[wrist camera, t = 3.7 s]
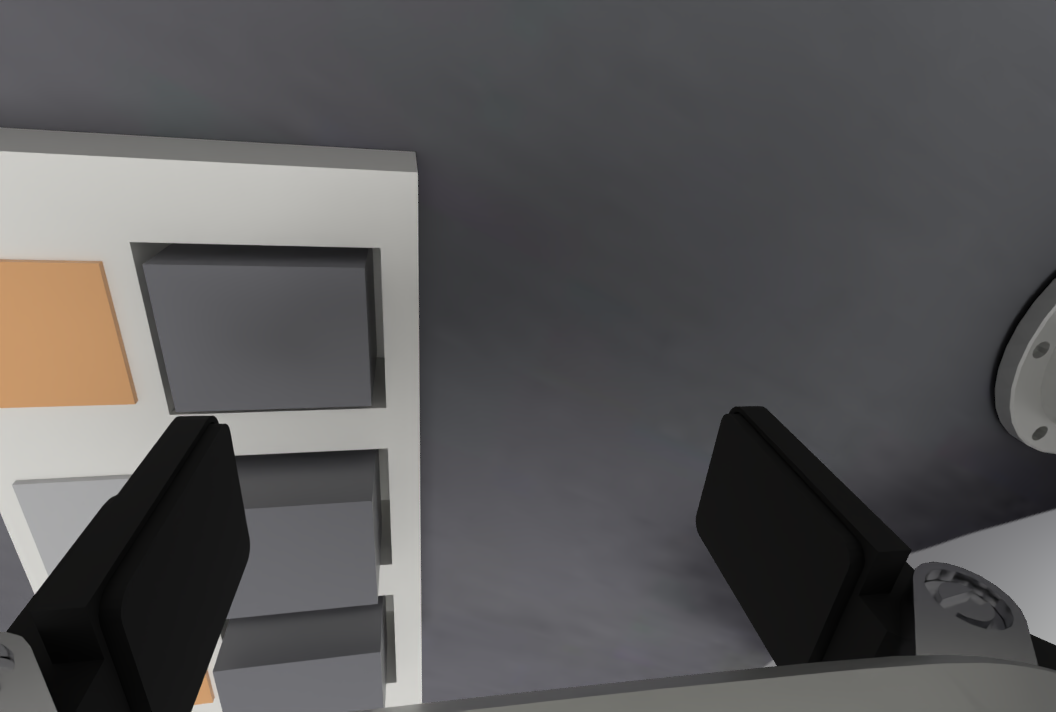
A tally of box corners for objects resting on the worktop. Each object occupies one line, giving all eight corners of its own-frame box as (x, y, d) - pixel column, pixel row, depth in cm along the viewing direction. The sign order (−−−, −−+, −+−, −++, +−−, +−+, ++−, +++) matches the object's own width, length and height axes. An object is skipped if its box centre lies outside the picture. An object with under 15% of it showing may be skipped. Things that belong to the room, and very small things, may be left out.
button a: (371, 234, 18) (364, 267, 15) (377, 352, 20) (371, 405, 17) (191, 229, 17) (142, 264, 14) (215, 355, 19) (175, 412, 15)
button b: (377, 431, 19) (372, 500, 16) (382, 525, 21) (377, 603, 18) (212, 438, 18) (172, 513, 15) (232, 535, 20) (199, 622, 17)
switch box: (415, 151, 18) (418, 173, 14) (419, 620, 28) (422, 714, 24) (-17, 126, 16) (-165, 144, 12) (149, 649, 25) (99, 760, 21)
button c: (384, 569, 22) (380, 651, 19) (387, 642, 24) (384, 727, 21) (241, 582, 21) (212, 671, 18) (256, 657, 23) (232, 750, 20)
